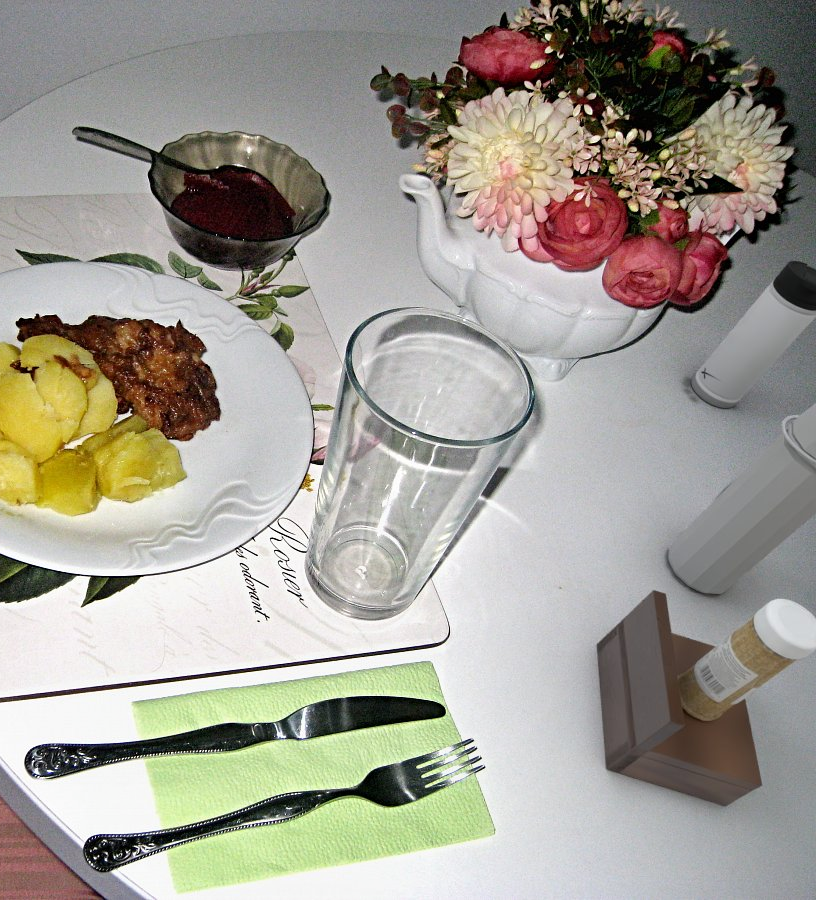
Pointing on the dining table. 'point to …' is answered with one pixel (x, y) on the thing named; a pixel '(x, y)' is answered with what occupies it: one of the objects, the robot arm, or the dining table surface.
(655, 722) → the shelf
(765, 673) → the sprinkles bottle
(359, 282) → the dining table surface
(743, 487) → the water bottle
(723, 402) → the travel mug
